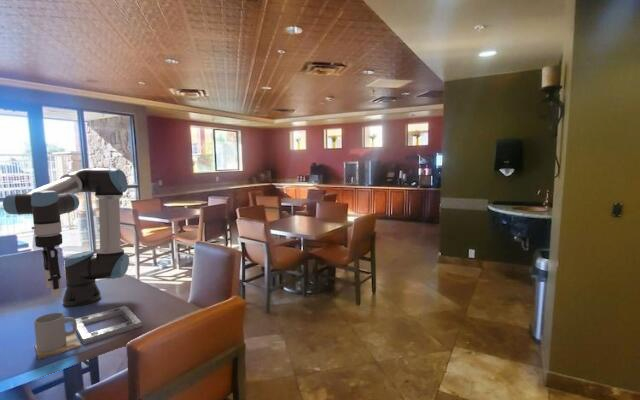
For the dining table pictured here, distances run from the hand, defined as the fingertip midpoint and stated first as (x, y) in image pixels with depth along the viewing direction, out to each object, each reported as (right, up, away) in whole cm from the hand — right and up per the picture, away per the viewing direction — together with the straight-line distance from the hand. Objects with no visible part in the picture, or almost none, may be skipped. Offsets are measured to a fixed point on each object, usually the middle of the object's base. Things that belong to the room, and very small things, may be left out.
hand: (53, 291), depth 122 cm
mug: (0, -20, +2) cm, 20 cm away
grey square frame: (+8, -19, +18) cm, 27 cm away
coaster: (0, -21, +2) cm, 21 cm away
